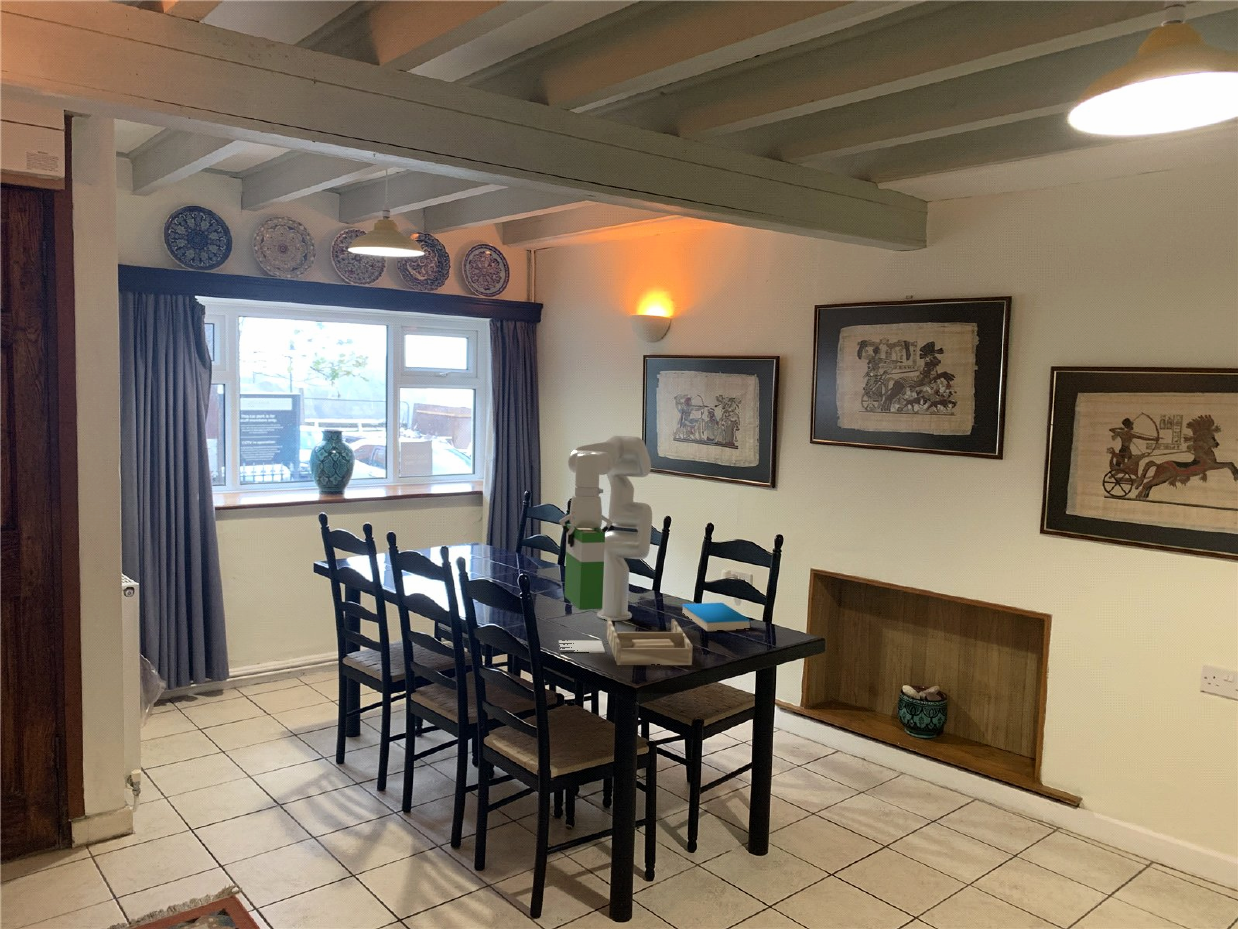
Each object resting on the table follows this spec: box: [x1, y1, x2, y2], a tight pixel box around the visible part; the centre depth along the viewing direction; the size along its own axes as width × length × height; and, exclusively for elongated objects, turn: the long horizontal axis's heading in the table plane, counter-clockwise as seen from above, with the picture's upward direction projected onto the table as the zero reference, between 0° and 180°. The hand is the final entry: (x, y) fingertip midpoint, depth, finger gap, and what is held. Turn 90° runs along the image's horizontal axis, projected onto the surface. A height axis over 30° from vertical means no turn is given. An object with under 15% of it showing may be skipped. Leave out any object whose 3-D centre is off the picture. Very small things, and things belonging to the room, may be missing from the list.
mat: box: [558, 639, 606, 654], centre depth 290 cm, size 12×14×1 cm
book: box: [681, 602, 752, 632], centre depth 329 cm, size 17×4×25 cm
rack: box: [606, 618, 694, 666], centre depth 290 cm, size 31×23×7 cm
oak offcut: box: [632, 639, 674, 648], centre depth 281 cm, size 6×12×3 cm, turn 102°
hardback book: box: [563, 523, 606, 611], centre depth 288 cm, size 18×7×24 cm, turn 19°
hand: (584, 546), depth 287 cm, fingers closed on hardback book, 8 cm apart
